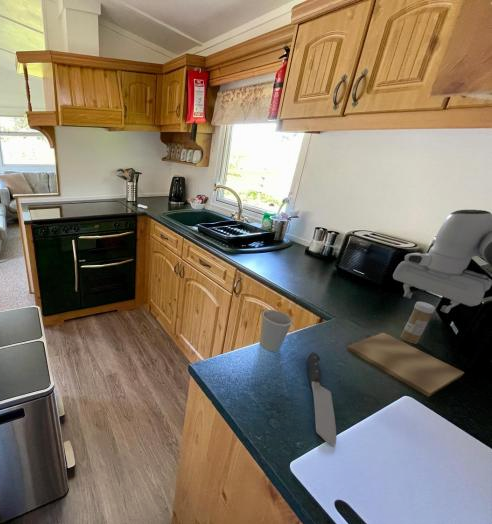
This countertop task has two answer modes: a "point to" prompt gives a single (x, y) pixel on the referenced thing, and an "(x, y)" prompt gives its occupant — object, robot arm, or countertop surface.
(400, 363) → the maple board
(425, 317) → the sprinkles bottle
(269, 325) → the dixie cup
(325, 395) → the kitchen knife
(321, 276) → the countertop surface
